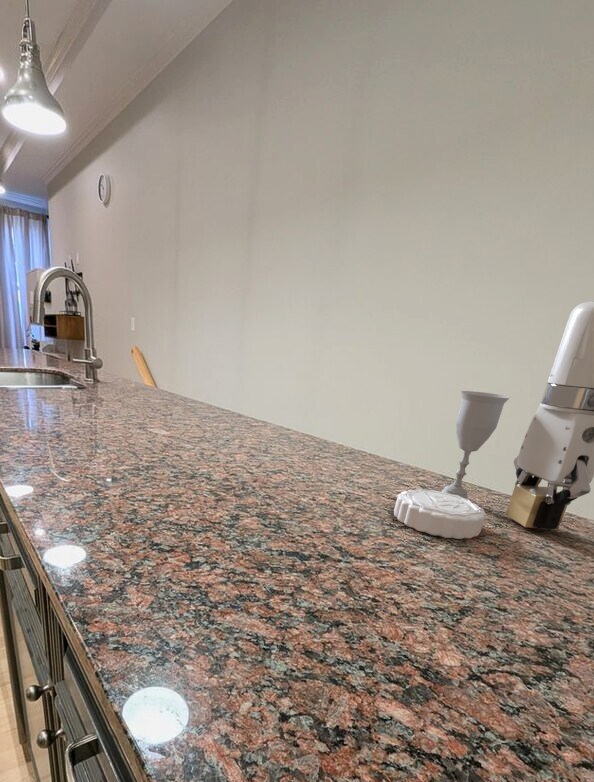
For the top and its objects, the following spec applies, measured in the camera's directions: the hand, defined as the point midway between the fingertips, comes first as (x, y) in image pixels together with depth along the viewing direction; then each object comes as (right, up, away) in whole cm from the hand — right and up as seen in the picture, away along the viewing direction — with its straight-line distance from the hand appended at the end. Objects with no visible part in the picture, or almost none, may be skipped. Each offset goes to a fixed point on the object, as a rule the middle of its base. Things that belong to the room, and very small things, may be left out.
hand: (531, 519), depth 69 cm
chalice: (-7, +3, +9) cm, 12 cm away
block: (0, 0, 0) cm, 0 cm away
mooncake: (-16, -1, -1) cm, 16 cm away
